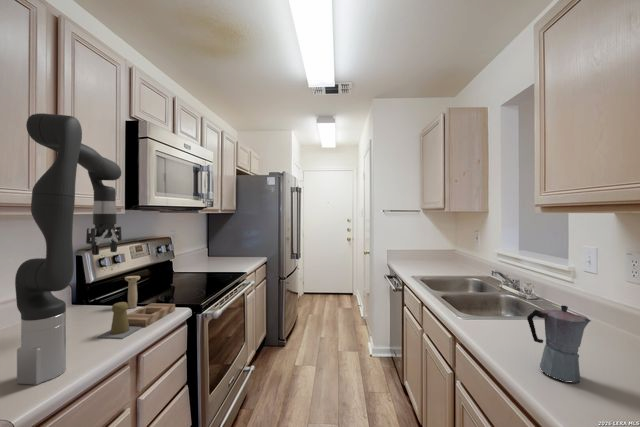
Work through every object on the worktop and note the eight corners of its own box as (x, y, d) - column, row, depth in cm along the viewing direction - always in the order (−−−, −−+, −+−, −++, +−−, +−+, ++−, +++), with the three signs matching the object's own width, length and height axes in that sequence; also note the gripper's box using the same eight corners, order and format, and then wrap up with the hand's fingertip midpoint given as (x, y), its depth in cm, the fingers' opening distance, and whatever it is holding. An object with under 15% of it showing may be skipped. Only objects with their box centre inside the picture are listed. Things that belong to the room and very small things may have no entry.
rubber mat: (122, 338, 106) (122, 337, 106) (97, 337, 106) (97, 336, 106) (141, 328, 116) (141, 326, 116) (118, 327, 116) (118, 325, 116)
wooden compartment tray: (145, 327, 116) (145, 319, 116) (118, 326, 117) (118, 318, 117) (175, 310, 136) (175, 304, 136) (151, 309, 137) (151, 303, 137)
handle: (129, 305, 143) (129, 275, 143) (142, 305, 143) (142, 275, 143) (122, 309, 138) (122, 277, 138) (136, 309, 138) (136, 278, 138)
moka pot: (602, 388, 76) (603, 312, 76) (538, 382, 79) (538, 309, 79) (576, 368, 86) (577, 301, 85) (519, 364, 88) (520, 298, 88)
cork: (107, 335, 107) (107, 305, 107) (114, 329, 113) (114, 301, 113) (126, 333, 109) (126, 304, 109) (131, 327, 115) (131, 299, 115)
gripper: (98, 212, 107) (98, 256, 107) (127, 212, 121) (127, 251, 121) (79, 212, 108) (79, 256, 108) (110, 212, 122) (110, 251, 122)
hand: (104, 253), depth 115 cm, fingers open, 8 cm apart
